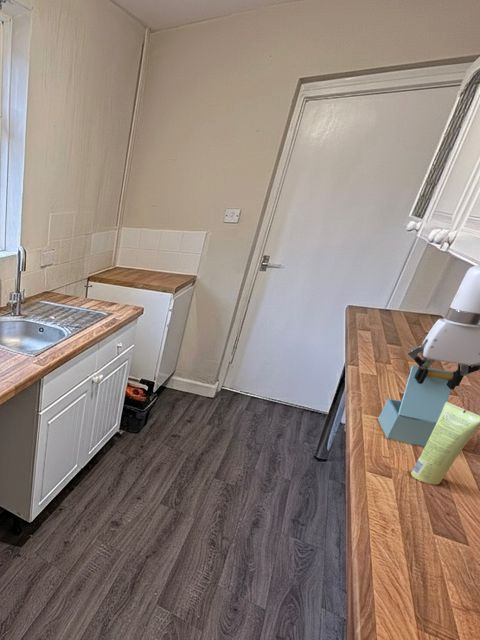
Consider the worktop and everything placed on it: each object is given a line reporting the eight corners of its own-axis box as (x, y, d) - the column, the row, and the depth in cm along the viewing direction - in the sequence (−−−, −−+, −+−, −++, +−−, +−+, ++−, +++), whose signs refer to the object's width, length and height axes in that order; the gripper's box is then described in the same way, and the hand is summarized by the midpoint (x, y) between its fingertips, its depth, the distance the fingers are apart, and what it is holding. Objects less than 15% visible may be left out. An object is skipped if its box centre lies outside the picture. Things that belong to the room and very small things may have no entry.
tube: (442, 480, 99) (483, 409, 91) (443, 490, 96) (485, 417, 88) (409, 470, 103) (446, 401, 95) (409, 479, 100) (447, 408, 92)
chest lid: (411, 365, 113) (419, 363, 108) (454, 372, 108) (464, 370, 104) (397, 414, 113) (405, 414, 109) (439, 423, 109) (449, 423, 105)
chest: (377, 420, 126) (387, 398, 123) (414, 428, 122) (425, 405, 119) (386, 439, 116) (397, 416, 113) (427, 449, 112) (439, 425, 109)
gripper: (514, 319, 99) (476, 387, 106) (416, 309, 108) (387, 372, 115) (528, 327, 93) (487, 398, 100) (423, 315, 102) (392, 381, 109)
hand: (434, 384), depth 108 cm, fingers closed on chest lid, 5 cm apart
